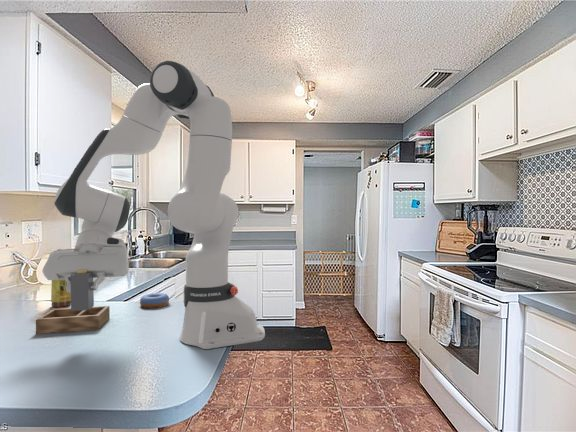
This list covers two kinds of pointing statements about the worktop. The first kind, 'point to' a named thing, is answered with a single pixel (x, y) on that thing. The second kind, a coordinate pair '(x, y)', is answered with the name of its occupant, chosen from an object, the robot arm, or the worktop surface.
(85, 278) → the push button
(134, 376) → the worktop surface
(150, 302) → the doughnut
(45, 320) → the caddy
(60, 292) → the sauce bottle
